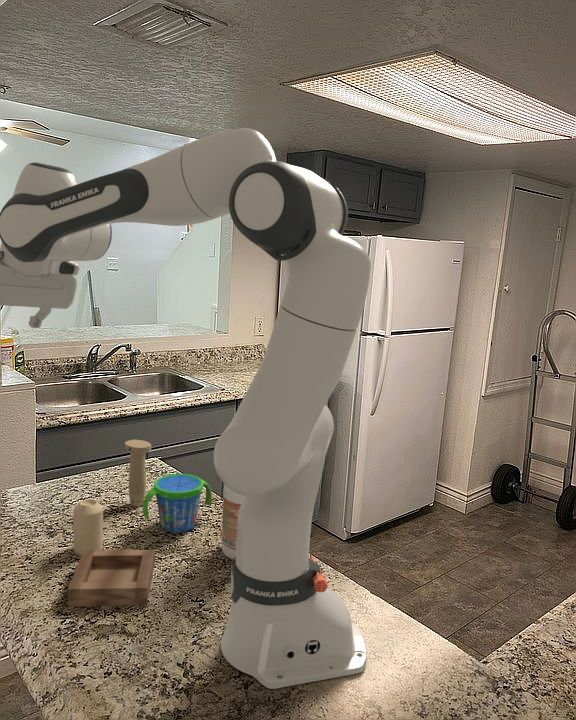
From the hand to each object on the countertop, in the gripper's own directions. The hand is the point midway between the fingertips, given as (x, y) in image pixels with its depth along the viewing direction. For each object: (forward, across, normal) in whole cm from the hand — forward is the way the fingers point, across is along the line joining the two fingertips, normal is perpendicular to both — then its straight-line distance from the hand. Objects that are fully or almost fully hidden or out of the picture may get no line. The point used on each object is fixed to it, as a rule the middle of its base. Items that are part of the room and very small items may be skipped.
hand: (9, 326), depth 108 cm
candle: (+38, +14, -23) cm, 47 cm away
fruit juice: (+28, +36, -44) cm, 63 cm away
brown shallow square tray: (+33, +10, -36) cm, 50 cm away
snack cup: (+35, +34, -27) cm, 55 cm away
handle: (+40, +34, -13) cm, 54 cm away
